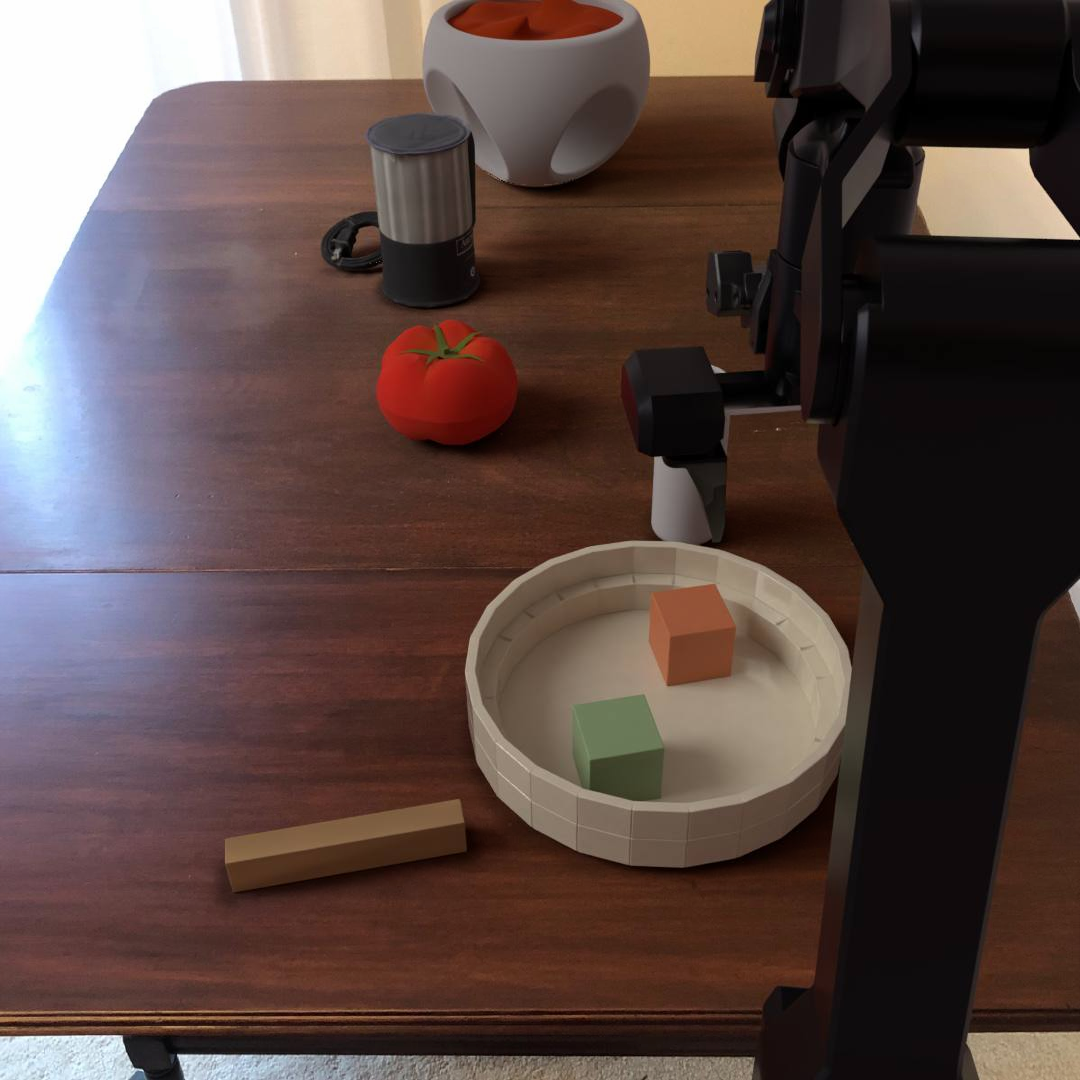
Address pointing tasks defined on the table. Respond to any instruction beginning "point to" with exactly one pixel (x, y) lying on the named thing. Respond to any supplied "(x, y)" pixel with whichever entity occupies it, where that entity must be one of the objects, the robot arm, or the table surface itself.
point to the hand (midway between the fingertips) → (800, 530)
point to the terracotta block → (691, 634)
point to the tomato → (446, 384)
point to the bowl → (658, 703)
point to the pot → (539, 82)
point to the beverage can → (680, 501)
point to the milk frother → (417, 211)
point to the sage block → (618, 748)
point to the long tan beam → (345, 845)
